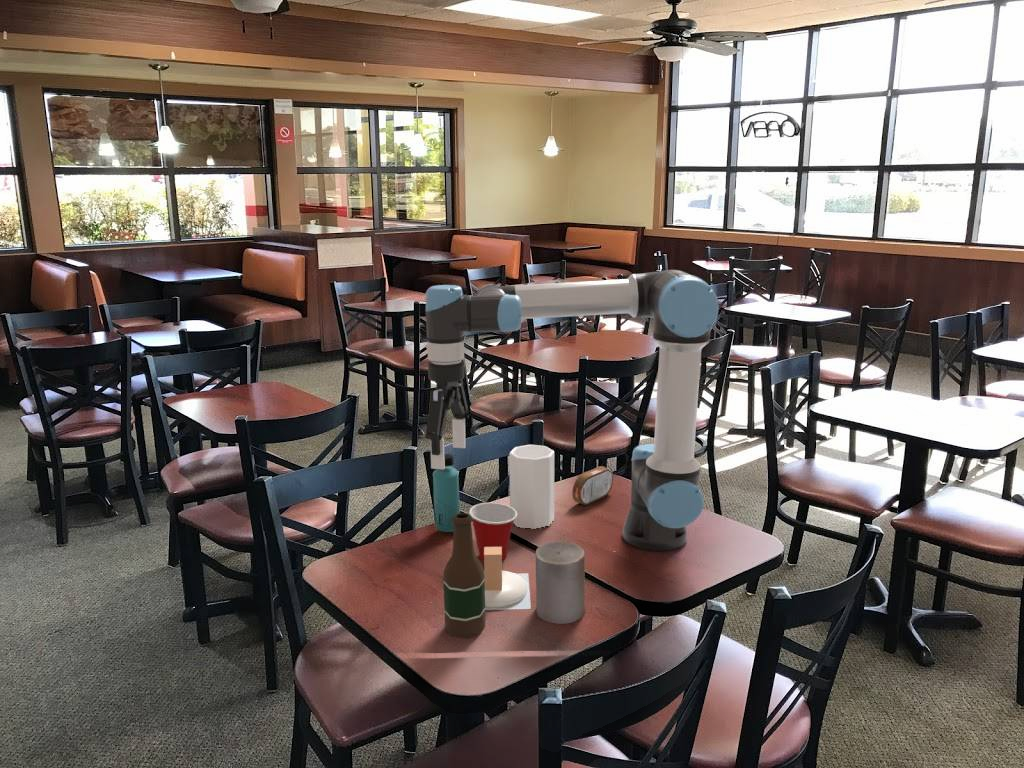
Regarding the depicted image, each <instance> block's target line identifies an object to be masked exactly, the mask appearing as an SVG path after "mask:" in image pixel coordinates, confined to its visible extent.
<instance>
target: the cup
mask: <svg viewBox="0 0 1024 768" xmlns="http://www.w3.org/2000/svg"><path fill="white" fill-rule="evenodd" d="M508 454H509V456H508V457H509V458H508V459H509V460H508V461H509V463H508V465H509V506H510V507H512V508H514V509H515V510H516V511H517V517H516V518H515V520H514V524H515V527H517V528H518V527H520V528H519V529H525V528H531V529H530V530H533V529H535V530H537V529H536V528H539V529H542V528H541V527H544V528H546V527H545V526H548V527H550V526H551V525H552V523H553V522H554V521H555V451H554V449H551V448H549V447H548V446H546V445H540V444H539V445H537V444H526V445H520V446H515V447H514V448H512V450H511V451H510V452H509V453H508ZM552 521H553V522H552ZM514 524H513V525H514ZM550 524H551V525H550Z"/></svg>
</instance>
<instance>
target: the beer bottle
mask: <svg viewBox="0 0 1024 768" xmlns="http://www.w3.org/2000/svg"><path fill="white" fill-rule="evenodd" d="M452 522H453V523H454V531H453V536H452V537H453V538H452V553H451V556H450V558H449V560H448V561H447V563H446V564H445V567H444V571H443V578H442V579H443V601H444V602H443V606H444V609H443V612H444V625H445V631H447V632H448V634H449V635H450V636H451V637H454V638H455V637H456V638H461V639H464V640H465V639H469V638H472V637H476V636H480V635H481V634H482V632H483V631H484V629H485V628H486V610H485V577H484V566H483V565H482V563H481V561H480V559H479V558H478V557H477V556H476V554H475V553H476V552H475V549H474V540H473V539H474V538H473V529H472V523H473V520H472V517H471V515H470V513H468V512H460V513H459V514H456V515H455V516H454V517H453V520H452Z"/></svg>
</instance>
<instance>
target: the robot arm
mask: <svg viewBox="0 0 1024 768" xmlns="http://www.w3.org/2000/svg"><path fill="white" fill-rule="evenodd" d="M719 308H720V307H719V300H718V297H717V294H716V293H715V290H713V288H712V287H711V286H710V285H709V284H708V282H706V281H705V280H704V279H702V278H700V277H698V276H696V275H692V274H689V273H688V272H686V271H683V270H678V269H668V270H667V269H666V270H659V271H652V272H651V271H650V272H644V273H643V272H642V273H631V274H630V275H629V276H628V277H627V278H623V279H622V278H620V279H610V280H609V279H606V280H605V279H604V280H584V281H569V282H567V281H566V282H553V283H552V282H550V283H533V284H532V283H531V284H514V285H497V284H493V283H492V284H490V283H489V284H486V285H484V286H482V287H481V288H479V290H478V291H477V292H476V294H475V295H467V294H464V293H463V288H462V287H461V286H460V285H456V284H441V285H440V284H437V285H432V286H429V288H428V289H427V290H426V292H425V321H426V322H425V323H426V325H425V326H426V327H425V328H426V342H427V343H426V345H425V348H426V349H427V359H428V360H429V362H428V363H427V371H428V373H427V374H428V379H429V380H430V381H431V382H435V384H436V386H435V390H433V389H432V390H430V392H429V404H428V414H427V421H426V422H427V423H426V431H425V435H424V436H425V437H424V438H425V439H426V440H429V441H430V442H429V444H430V469H434V470H436V469H443V470H444V469H445V457H444V454H445V438H443V433H444V430H445V426H446V425H445V424H446V420H447V415H448V411H451V413H452V415H453V418H452V419H451V423H452V424H451V425H452V427H451V429H452V448H454V449H455V448H456V449H466V419H469V417H470V413H469V406H468V401H467V398H466V392H465V390H464V382H463V379H464V378H465V377H466V376H465V361H463V360H464V359H465V344H464V342H465V341H464V333H486V332H487V333H493V332H494V333H499V332H500V333H501V332H502V333H507V332H517V331H519V330H520V329H521V327H522V320H524V319H525V320H526V319H527V320H528V319H545V318H547V319H548V318H563V317H565V318H566V317H585V316H599V315H600V316H601V315H622V314H628V315H630V316H631V317H632V318H650V319H653V327H652V329H653V330H652V331H653V332H652V333H653V334H652V339H653V341H654V342H655V343H656V344H657V345H658V347H659V351H658V353H659V355H658V372H657V387H656V388H657V389H656V403H655V404H656V407H655V423H654V437H653V438H654V439H653V440H654V442H653V443H646V444H641V445H637V446H635V447H634V448H633V451H632V457H631V459H630V461H631V490H630V491H631V493H630V494H631V495H630V498H631V501H630V507H629V510H628V513H627V515H626V519H625V520H624V523H623V526H622V527H623V528H622V538H623V540H624V541H625V542H627V544H629V545H631V546H633V547H634V548H637V549H641V550H645V551H653V552H663V551H664V552H665V551H667V552H668V551H672V550H676V549H678V548H681V547H683V546H684V545H685V544H686V543H687V539H688V531H687V526H690V525H691V524H692V523H694V522H695V521H696V520H697V519H699V517H700V516H701V514H702V512H703V509H704V506H705V499H704V494H703V491H702V490H701V488H700V476H701V463H700V461H698V460H697V458H695V446H696V445H695V443H696V430H697V416H698V415H697V414H698V404H699V403H698V401H699V390H700V389H699V387H700V374H701V373H700V372H701V360H702V349H703V348H704V347H705V346H706V345H708V344H709V343H710V339H711V338H710V337H711V328H712V327H713V325H714V324H715V323H716V321H717V319H718V316H719V315H718V314H719Z"/></svg>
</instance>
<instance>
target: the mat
mask: <svg viewBox="0 0 1024 768" xmlns="http://www.w3.org/2000/svg"><path fill="white" fill-rule="evenodd" d="M516 574H517V575H519V576H521V577H522V578H523V579H524V580H525V581H526V583H527V594H526V596H525V598H524V599H523V600H521V601H520V602H518V603H516V604H514V605H511V606H508V607H503V608H485V611H501V610H502V611H503V610H505V611H508V610H510V611H511V610H512V611H513V610H531V609H532V604H531V592H530V580H529V579H530V578H529V577H530V576H529V573H528V572H527V573H523V572H521V573H516Z"/></svg>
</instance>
